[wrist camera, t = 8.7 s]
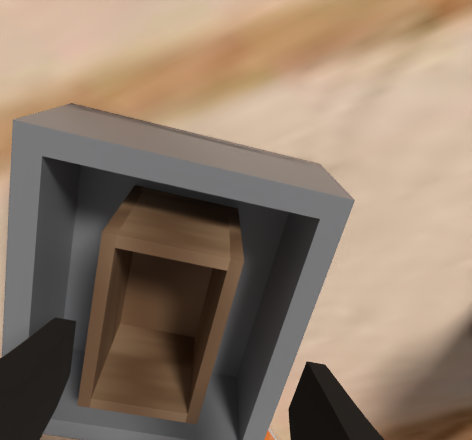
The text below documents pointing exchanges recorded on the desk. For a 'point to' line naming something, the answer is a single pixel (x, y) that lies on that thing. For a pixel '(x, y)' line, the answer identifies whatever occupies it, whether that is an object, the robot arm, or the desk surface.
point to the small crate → (160, 304)
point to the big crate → (180, 183)
